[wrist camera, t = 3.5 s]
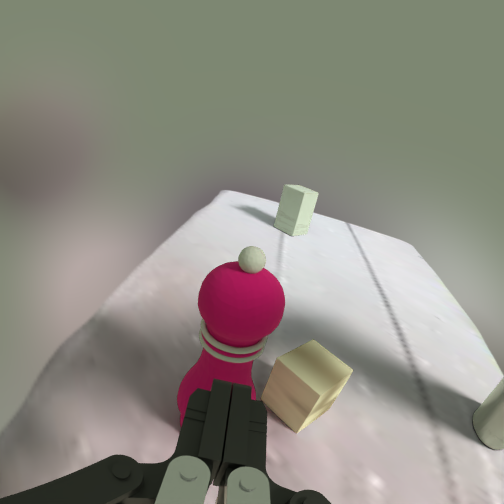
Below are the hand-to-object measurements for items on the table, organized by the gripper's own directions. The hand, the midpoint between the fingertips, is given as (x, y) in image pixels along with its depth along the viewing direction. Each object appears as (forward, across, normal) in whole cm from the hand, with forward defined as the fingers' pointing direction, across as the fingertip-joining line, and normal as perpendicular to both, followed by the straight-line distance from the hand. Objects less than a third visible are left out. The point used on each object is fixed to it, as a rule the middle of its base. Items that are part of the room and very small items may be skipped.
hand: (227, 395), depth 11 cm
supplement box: (+76, -12, +17) cm, 79 cm away
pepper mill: (+10, 0, +18) cm, 21 cm away
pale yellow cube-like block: (+15, -10, +18) cm, 25 cm away
